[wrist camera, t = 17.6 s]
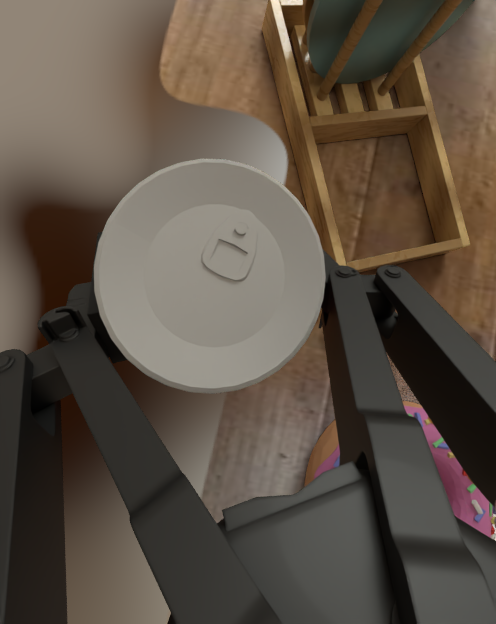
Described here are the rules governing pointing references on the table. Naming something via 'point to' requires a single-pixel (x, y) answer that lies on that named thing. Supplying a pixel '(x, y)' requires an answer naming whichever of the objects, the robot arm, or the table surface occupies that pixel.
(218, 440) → the table surface
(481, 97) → the table surface
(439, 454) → the donut
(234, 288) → the canned food
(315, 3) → the dish rack
